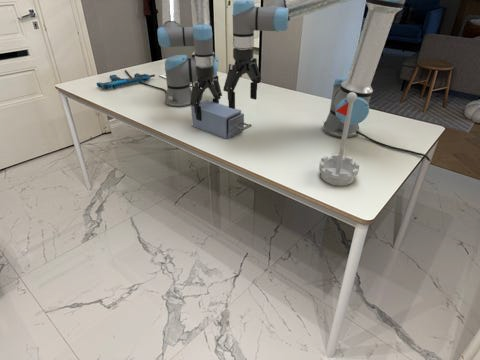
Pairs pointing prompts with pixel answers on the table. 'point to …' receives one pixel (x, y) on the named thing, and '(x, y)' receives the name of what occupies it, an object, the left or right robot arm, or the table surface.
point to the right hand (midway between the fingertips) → (242, 103)
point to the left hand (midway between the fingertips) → (207, 116)
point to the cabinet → (214, 117)
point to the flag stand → (341, 154)
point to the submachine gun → (124, 81)
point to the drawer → (236, 125)
